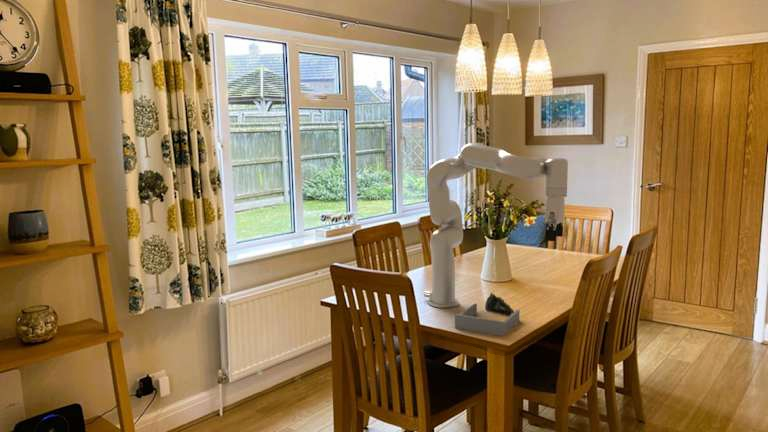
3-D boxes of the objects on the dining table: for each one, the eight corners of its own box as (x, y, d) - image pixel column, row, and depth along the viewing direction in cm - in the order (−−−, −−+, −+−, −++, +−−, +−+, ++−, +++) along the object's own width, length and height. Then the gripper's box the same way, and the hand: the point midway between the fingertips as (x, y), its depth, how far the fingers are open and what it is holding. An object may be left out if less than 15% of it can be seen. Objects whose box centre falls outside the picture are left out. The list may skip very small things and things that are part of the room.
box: (454, 327, 210) (454, 314, 209) (474, 313, 226) (474, 300, 225) (502, 336, 201) (502, 322, 200) (519, 320, 217) (519, 307, 216)
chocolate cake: (521, 314, 226) (506, 288, 232) (513, 313, 221) (498, 287, 227) (503, 327, 230) (489, 301, 236) (494, 326, 225) (480, 300, 231)
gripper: (552, 189, 219) (550, 234, 221) (539, 194, 204) (538, 241, 206) (572, 190, 215) (570, 235, 217) (560, 195, 200) (559, 243, 203)
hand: (555, 238), depth 212 cm, fingers open, 9 cm apart
